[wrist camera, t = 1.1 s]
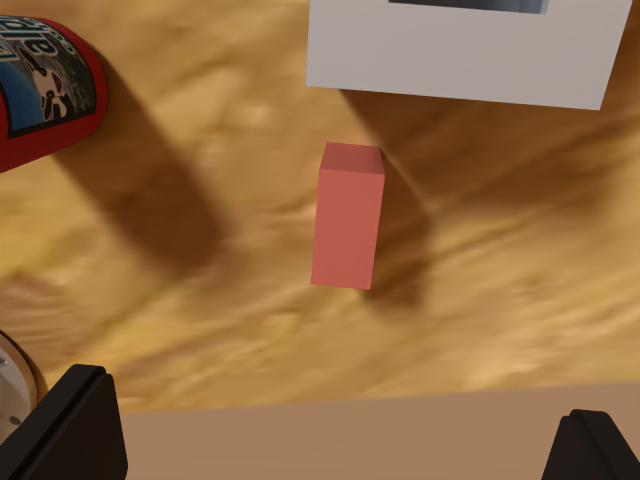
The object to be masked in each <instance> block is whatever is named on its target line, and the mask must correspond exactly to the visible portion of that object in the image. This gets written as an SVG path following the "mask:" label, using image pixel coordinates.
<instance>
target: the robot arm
mask: <svg viewBox="0 0 640 480" xmlns="http://www.w3.org/2000/svg"><path fill="white" fill-rule="evenodd" d="M36 405H37V389H36V384H35V380H34V377H33V375H32V373H31V370H30V368H29V366H28V364H27V363H26V361H25V360H24V358H23V357H22V355H21V354H20V352H19V351H18V350H17V349H16V348H15V347H14V346H13V345H12V344H11V343H10V342H9V341H8V340H7V339H6V338H5V337H4V336H2V335H1V334H0V444H1V445H0V480H125V478H126V475H127V470H128V462H127V455H126V450H125V444H124V438H123V432H122V426H121V422H120V415H119V409H118V403H117V397H116V391H115V386H114V380H113V376H112V375H111V374H107V373H106V369H105V368H104V367H102V366H95V365H84V364H75V365H72V366H71V367H70V368H69V369H68V370H67V371H66V373H65V374H64V375H63V376H62V377H61V378H60V379H59V381H58V382H57V383H56V384H55V385H54V386H53V388H52V389H51V390H50V391H49V392H48V393H47V394H46V396H45V397H44V398H43V399H42V400H41V401H40V402H39V404H38V405H37V406H36ZM541 480H640V462H639V461H638V459H637V458H636V457H635V455H634V453H633V452H632V450H631V448H630V447H629V445H628V444H627V442H626V440H625V439H624V437H623V436H622V434H621V433H620V431H619V430H618V428H617V426H616V425H615V423H614V422H613V420H612V418H611V417H610V416H609V415H608V414H607V413H606V412H602V411H591V410H580V409H574V410H572V411H571V413H570V415H569V416H563V417H562V419H561V421H560V424H559V427H558V430H557V433H556V436H555V439H554V442H553V445H552V448H551V452H550V454H549V458H548V461H547V464H546V467H545V470H544V473H543V476H542V479H541Z"/></svg>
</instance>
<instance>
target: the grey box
mask: <svg viewBox="0 0 640 480" xmlns="http://www.w3.org/2000/svg"><path fill="white" fill-rule="evenodd" d="M632 1H633V0H310V16H309V33H308V51H307V68H306V85H305V86H315V87H327V88H339V89H351V90H363V91H375V92H387V93H399V94H411V95H423V96H435V97H446V98H458V99H470V100H482V101H494V102H506V103H518V104H530V105H542V106H554V107H566V108H578V109H590V110H600V107H601V104H602V101H603V97H604V94H605V91H606V87H607V84H608V81H609V77H610V74H611V71H612V67H613V64H614V61H615V57H616V54H617V51H618V47H619V44H620V41H621V37H622V34H623V31H624V28H625V24H626V21H627V18H628V14H629V11H630V8H631V4H632Z"/></svg>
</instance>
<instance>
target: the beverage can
mask: <svg viewBox="0 0 640 480" xmlns="http://www.w3.org/2000/svg"><path fill="white" fill-rule="evenodd" d="M107 100H108V92H107V84H106V79H105V76H104V73H103V70H102V67H101V65H100V63H99V61H98V59H97V57H96V56H95V54H94V53H93V51H92V50H91V49H90V47H89V46H88V45H87V44H86V43H85V42H84V41H83V40H82V39H81V38H80V37H79V36H78V35H77V34H75V33H74V32H73V31H71V30H70V29H68V28H67V27H65V26H63V25H61V24H59V23H57V22H54V21H51V20H48V19H44V18H36V17H23V16H10V15H0V173H3V172H6V171H8V170H11V169H13V168H16V167H18V166H21V165H24V164H26V163H29V162H31V161H34V160H36V159H39V158H41V157H44V156H46V155H49V154H51V153H54V152H56V151H59V150H61V149H63V148H66V147H68V146H71V145H73V144H75V143H78V142H80V141H82V140H84V139H86V138H87V137H89V136H90V135H91V134H92V133H93V132H94V131H95V130H96V129H97V128H98V127H99V125H100V123H101V122H102V120H103V117H104V115H105V112H106V108H107Z"/></svg>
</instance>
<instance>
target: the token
mask: <svg viewBox="0 0 640 480" xmlns="http://www.w3.org/2000/svg"><path fill="white" fill-rule="evenodd" d="M384 180H385V172H384V167H383V162H382V158H381V153H380V148H379V147H377V146H365V145H354V144H342V143H331V142H327V143H326V147H325V150H324V154H323V158H322V162H321V166H320V170H319V184H318V197H317V210H316V224H315V237H314V250H313V264H312V277H311V284H315V285H325V286H335V287H345V288H356V289H366V290H370V286H371V279H372V271H373V264H374V256H375V248H376V241H377V233H378V226H379V218H380V211H381V203H382V195H383V188H384Z"/></svg>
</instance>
